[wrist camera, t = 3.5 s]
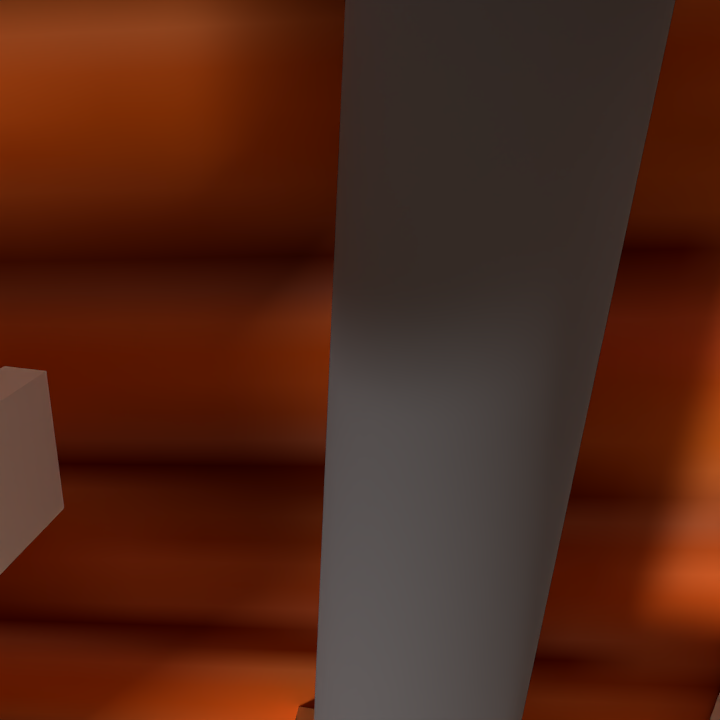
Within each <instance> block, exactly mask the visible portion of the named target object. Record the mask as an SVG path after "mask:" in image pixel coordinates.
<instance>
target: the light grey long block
mask: <svg viewBox="0 0 720 720" xmlns="http://www.w3.org/2000/svg"><path fill="white" fill-rule="evenodd" d="M710 720H720V693H719V696H718V698H717V701H716V704H715V707H714V709H713V712H712V715H711V717H710Z"/></svg>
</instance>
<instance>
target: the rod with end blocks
mask: <svg viewBox="0 0 720 720" xmlns="http://www.w3.org/2000/svg"><path fill="white" fill-rule="evenodd" d="M674 4H675V0H345V22H344V44H343V67H342V90H341V113H340V136H339V159H338V182H337V205H336V227H335V250H334V273H333V296H332V319H331V342H330V365H329V387H328V410H327V433H326V456H325V479H324V502H323V525H322V548H321V570H320V593H319V616H318V639H317V662H316V685H315V708H314V709H312V708H306V707H300V706H299V708H298V712H297V715H296V719H295V720H522V716H523V711H524V706H525V702H526V697H527V692H528V687H529V683H530V678H531V673H532V669H533V664H534V659H535V655H536V650H537V645H538V641H539V636H540V631H541V627H542V622H543V617H544V613H545V608H546V603H547V599H548V594H549V589H550V585H551V580H552V575H553V571H554V566H555V561H556V556H557V552H558V547H559V542H560V538H561V533H562V528H563V524H564V519H565V514H566V510H567V505H568V500H569V496H570V491H571V486H572V482H573V477H574V472H575V468H576V463H577V458H578V454H579V449H580V444H581V440H582V435H583V430H584V425H585V421H586V416H587V411H588V407H589V402H590V397H591V393H592V388H593V383H594V379H595V374H596V369H597V365H598V360H599V355H600V351H601V346H602V341H603V337H604V332H605V327H606V323H607V318H608V313H609V309H610V304H611V299H612V294H613V290H614V285H615V280H616V276H617V271H618V266H619V262H620V257H621V252H622V248H623V243H624V238H625V234H626V229H627V224H628V220H629V215H630V210H631V206H632V201H633V196H634V192H635V187H636V182H637V178H638V173H639V168H640V163H641V159H642V154H643V149H644V145H645V140H646V135H647V131H648V126H649V121H650V117H651V112H652V107H653V103H654V98H655V93H656V89H657V84H658V79H659V75H660V70H661V65H662V61H663V56H664V51H665V46H666V42H667V37H668V32H669V28H670V23H671V18H672V14H673V9H674Z"/></svg>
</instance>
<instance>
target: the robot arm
mask: <svg viewBox="0 0 720 720" xmlns="http://www.w3.org/2000/svg"><path fill="white" fill-rule="evenodd" d="M63 509H64V502H63V494H62V487H61V479H60V471H59V464H58V456H57V448H56V441H55V433H54V425H53V418H52V410H51V403H50V395H49V387H48V380H47V372H46V371H43V370H34V369H26V368H17V367H8V366H4V367H2V368H0V574H1V573H2V572H3V571H4V570H5V569H6V568H7V567H8V566H9V565H10V564H11V563H12V562H13V561H14V560H15V559H16V558H17V557H18V556H19V555H20V554H21V553H22V552H23V551H24V550H25V549H26V547H27V546H28V545H29V544H30V543H31V542H32V541H33V540H34V539H35V538H36V537H37V536H38V535H39V534H40V533H41V532H42V531H43V530H44V529H45V528H46V527H47V526H48V525H49V524H50V523H51V522H52V520H53V519H54V518H55V517H56V516H57V515H58V514H59V513H60V512H61V511H62V510H63Z"/></svg>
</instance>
